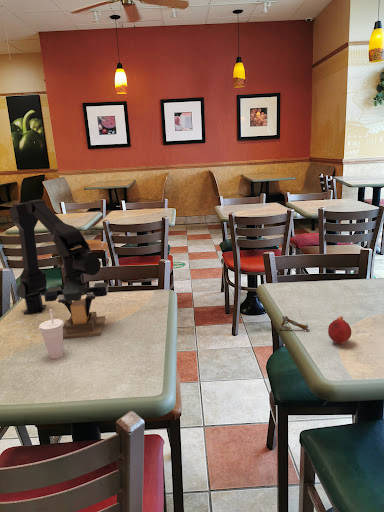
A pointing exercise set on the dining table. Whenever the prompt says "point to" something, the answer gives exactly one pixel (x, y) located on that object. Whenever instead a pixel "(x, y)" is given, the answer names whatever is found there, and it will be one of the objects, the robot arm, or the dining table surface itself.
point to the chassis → (84, 327)
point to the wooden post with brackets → (292, 323)
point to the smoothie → (53, 336)
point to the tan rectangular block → (79, 312)
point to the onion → (339, 330)
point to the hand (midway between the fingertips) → (80, 316)
